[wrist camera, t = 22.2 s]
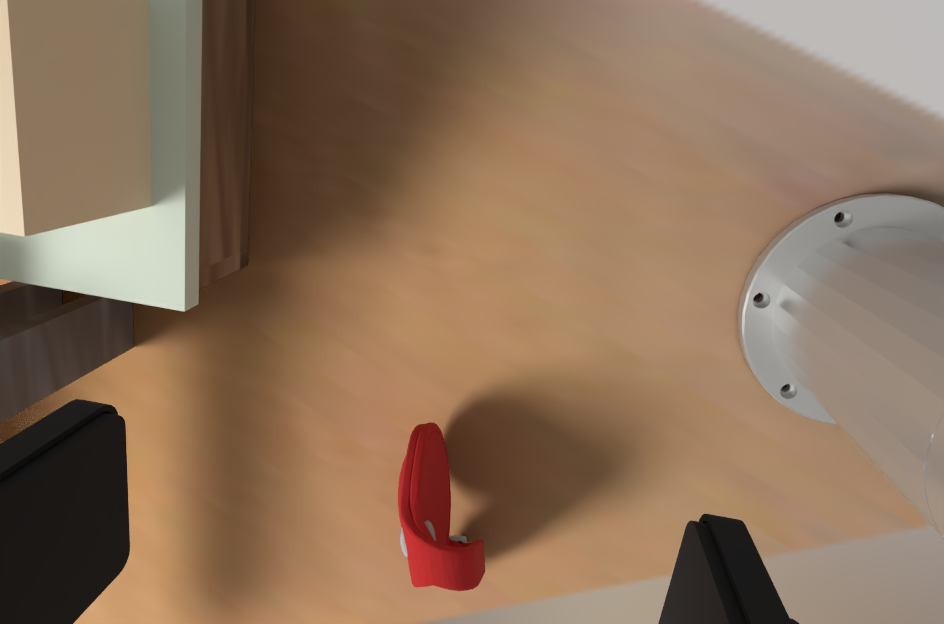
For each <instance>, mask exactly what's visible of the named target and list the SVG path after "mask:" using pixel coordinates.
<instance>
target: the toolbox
mask: <svg viewBox="0 0 944 624" xmlns="http://www.w3.org/2000/svg"><path fill="white" fill-rule="evenodd" d="M254 18H255V0H202V64H201V145H200V225H199V289H201V288H203V287H205V286H207V285H209V284H211V283H213V282H215V281H217V280H219V279H221V278H223V277H225V276H227V275H229V274H231V273H233V272H235V271H237V270H239V269H241V268H243V267H245V266H247V265H248V232H249V196H250V160H251V125H252V89H253V53H254ZM133 347H134V335H133V302H128V301H122V300H117V299H111V298H106V297H100V296H94V295H89V294H88V295H86V296H83V297H81V298H78V299H76V300H73V301H71V302H68V303H66V304H63V305H62V290H61V289H55V288H50V287H44V286H39V285H33V284H28V283H22V282H16V281H13V282H10V283H7V284H3V285H0V423H1V422H3V421H5V420H6V419H8V418H10V417H12V416H13V415H15V414H17V413H19V412H20V411H22V410H24V409H26V408H27V407H29V406H31V405H33V404H35V403H36V402H38V401H40V400H42V399H43V398H45V397H47V396H49V395H50V394H52V393H54V392H56V391H57V390H59V389H61V388H63V387H65V386H66V385H68V384H70V383H72V382H73V381H75V380H77V379H79V378H80V377H82V376H84V375H86V374H87V373H89V372H91V371H93V370H95V369H96V368H98V367H100V366H102V365H103V364H105V363H107V362H109V361H110V360H112V359H114V358H116V357H117V356H119V355H121V354H123V353H125V352H126V351H128V350H130V349H132V348H133Z"/></svg>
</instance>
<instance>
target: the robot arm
mask: <svg viewBox="0 0 944 624" xmlns="http://www.w3.org/2000/svg"><path fill="white" fill-rule="evenodd" d="M838 212H840V214H841V217H840V219H839V220H837V221H834V217H835V216H836V214H837V213H838ZM758 293H761V297H760V298H759V299H758V300H753V298H754V296H755V295H756V294H758ZM737 321H738V333H739V341H740V345H741V348H742V351H743V354H744V357H745V360H746V362H747V363H748V365H749V367H750V369H751V370H752V372H753V374H754V376H755V377H756V378H757V380H758V381H759V382H760V383H761V384H762V386H763V387H764V388H765V390H766V391H767V392H768V393H769V394H770V395H772V396H773V397H774V398H775V399H776V400H777V401H778V402H779V403H781V404H782V405H784V406H786V407H787V408H789V409H791V410H792V411H794V412H796V413H797V414H799V415H802V416H805V417H807V418H810V419H813V420H816V421H818V422H823V423H828V424H834V425H839V426H840V427H841V429H842V430H843V431H844V432H845V433H846V434H847V435H848V436H849V437H850V438H851V439H852V440H853V442H854V443H855V444H856V445H857V446H858V447H859V448H860V449H861V450H862V451H863V452H864V453H865V455H866V456H867V457H868V458H869V459H870V460H871V461H872V462H873V463H874V464H875V465H876V466H877V467H878V469H879V470H880V471H881V472H882V473H883V474H884V475H885V476H886V477H887V478H888V479H889V480H890V482H891V483H892V484H893V485H894V486H895V487H896V488H897V489H898V490H899V491H900V492H901V493H902V495H903V496H904V497H905V498H906V499H907V500H908V501H909V502H910V503H911V504H912V505H913V506H914V508H915V509H916V510H917V511H918V512H919V513H920V514H921V515H922V516H923V517H924V518H925V519H926V521H927V522H928V523H929V524H930V525H931V526H932V527H933V528H934V529H935V530H936V531H937V532H938V533H939V535H940V536H941V537H942V538H943V539H944V207H943V206H940V205H938V204H936V203H934V202H931V201H927V200H923V199H920V198H916V197H911V196H904V195H897V194H891V193H883V194H862V195H858V196H853V197H848V198H844V199H839V200H836V201H834V202H831V203H829V204H826V205H824V206H821V207H819V208H816V209H814V210H812V211H811V212H809V213H807V214H806V215H804V216H802V217H801V218H799V219H797V220H796V221H794V222H792V223H791V224H790V225H789V226H788V227H787V228H785V229H784V230H783V231H782V232H781V233H780V234H779V235H777V236H776V237H775V238H774V239H773V240H772V241H771V242H770V244H769V245H768V246H767V247H766V249H765V250H764V251H763V252H762V253H761V255H760V256H759V257H758V259H757V261H756V262H755V264H754V266H753V268H752V269H751V271H750V273H749V275H748V277H747V279H746V282H745V285H744V288H743V291H742V294H741V297H740V302H739V310H738V319H737ZM786 384H787V386H786V387H785V388H782V387H783V386H784V385H786ZM129 551H130V539H129V511H128V483H127V455H126V427H125V421H124V419H123V417H121V416H119V415H118V413H117V411H116V409H115V407H113V406H112V405H108V404H102V403H97V402H91V401H86V400H78V399H76V400H73V401H71V402H69V403H67V404H66V405H64V406H62V407H61V408H59V409H58V410H56V411H54V412H53V413H51V414H49V415H48V416H46V417H44V418H43V419H41V420H39V421H38V422H36V423H34V424H33V425H31V426H29V427H28V428H26V429H24V430H23V431H21V432H20V433H18V434H16V435H15V436H13V437H11V438H10V439H8V440H6V441H5V442H3V443H1V444H0V624H73V623H74V622H75V621H76V620H77V619H78V618H79V616H80V615H81V614H82V613H83V612H84V611H85V610H86V609H87V608H88V607H89V606H90V605H91V604H92V603H93V601H94V600H95V599H96V598H97V597H98V596H99V595H100V594H101V593H102V592H103V591H104V590H105V589H106V587H107V586H108V585H109V584H110V583H111V582H112V581H113V580H114V579H115V578H116V577H117V576H118V575H119V573H120V572H121V571H122V570H123V568H124V566H125V564H126V562H127V559H128V556H129ZM659 624H799V623H798V622H796V621H795V620H793V619H790V618H789V616H788V614H787V612H786V610H785V608H784V606H783V604H782V601H781V599H780V597H779V595H778V593H777V591H776V589H775V587H774V585H773V582H772V581H771V578H770V576H769V574H768V572H767V570H766V568H765V566H764V564H763V562H762V559H761V557H760V555H759V553H758V551H757V549H756V547H755V545H754V542H753V540H752V538H751V536H750V534H749V532H748V530H747V528H746V526H745V524H744V523H743V521H741V520H737V519H732V518H726V517H721V516H715V515H710V514H703V515H702V516H701V518H700V520H699V522H696V521H689V522H688V524H687V526H686V529H685V532H684V536H683V539H682V543H681V546H680V550H679V554H678V557H677V561H676V564H675V568H674V571H673V575H672V578H671V582H670V586H669V589H668V592H667V596H666V599H665V603H664V606H663V610H662V613H661V617H660V620H659Z"/></svg>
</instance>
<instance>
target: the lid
mask: <svg viewBox="0 0 944 624" xmlns="http://www.w3.org/2000/svg"><path fill="white" fill-rule="evenodd" d="M201 64H202V0H0V279H5V280H11V281H16V282H22V283H28V284H33V285H39V286H44V287H50V288H55V289H61V290H67V291H72V292H78V293H83V294H89V295H94V296H100V297H106V298H111V299H117V300H122V301H128V302H133V303H139V304H145V305H150V306H156V307H161V308H167V309H172V310H178V311H184V312H185V311H187V310H189V309H190V308H192V307H194V306H196V305H198V304H199V225H200V145H201Z"/></svg>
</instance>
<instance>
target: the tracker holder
mask: <svg viewBox="0 0 944 624" xmlns="http://www.w3.org/2000/svg"><path fill="white" fill-rule="evenodd" d="M398 507H399V517H400V522H401V527H402V529H401V536H400V542H401V548H402V551H403V553H404V555H405V556H406V557H408V563H409V569H410V575H411V580H412V584H413V585H414V586H415V587H425V586H432V585H434V586H438V587H441V588H444V589H449V590H456V591H464V590H470V589H473V588H475V587H477V586H478V585H479V583H480V581H481V579H482V577H483V575H484V573H485V558H484V542H483V541H482V540H476V541H475V542H472V543H466V539H467V538H466V536H449V531H450V509H451V493H450V476H449V464H448V457H447V451H446V446H445V442H444V438H443V435H442V432H441V430H440V428H439V427H438V426H437V424H435V423H427V424H420V425H417V426H416V427H415V428H414V430H413V431H412V434H411V437H410V441H409V444H408V450H407V455H406V457H405V459H404V462H403V465H402V469H401V473H400V478H399V487H398ZM456 541H458V542H456Z"/></svg>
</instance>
